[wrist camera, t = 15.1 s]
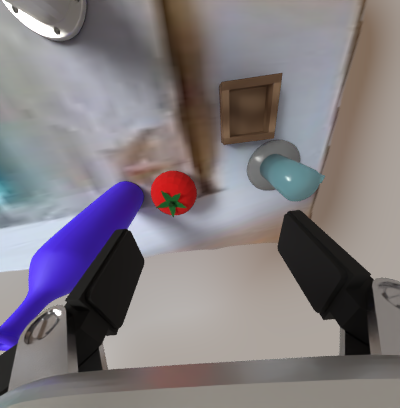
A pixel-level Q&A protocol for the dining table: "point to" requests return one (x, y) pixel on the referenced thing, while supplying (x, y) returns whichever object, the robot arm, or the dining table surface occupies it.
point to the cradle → (249, 108)
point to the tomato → (173, 193)
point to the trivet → (263, 152)
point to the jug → (290, 177)
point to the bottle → (71, 254)
